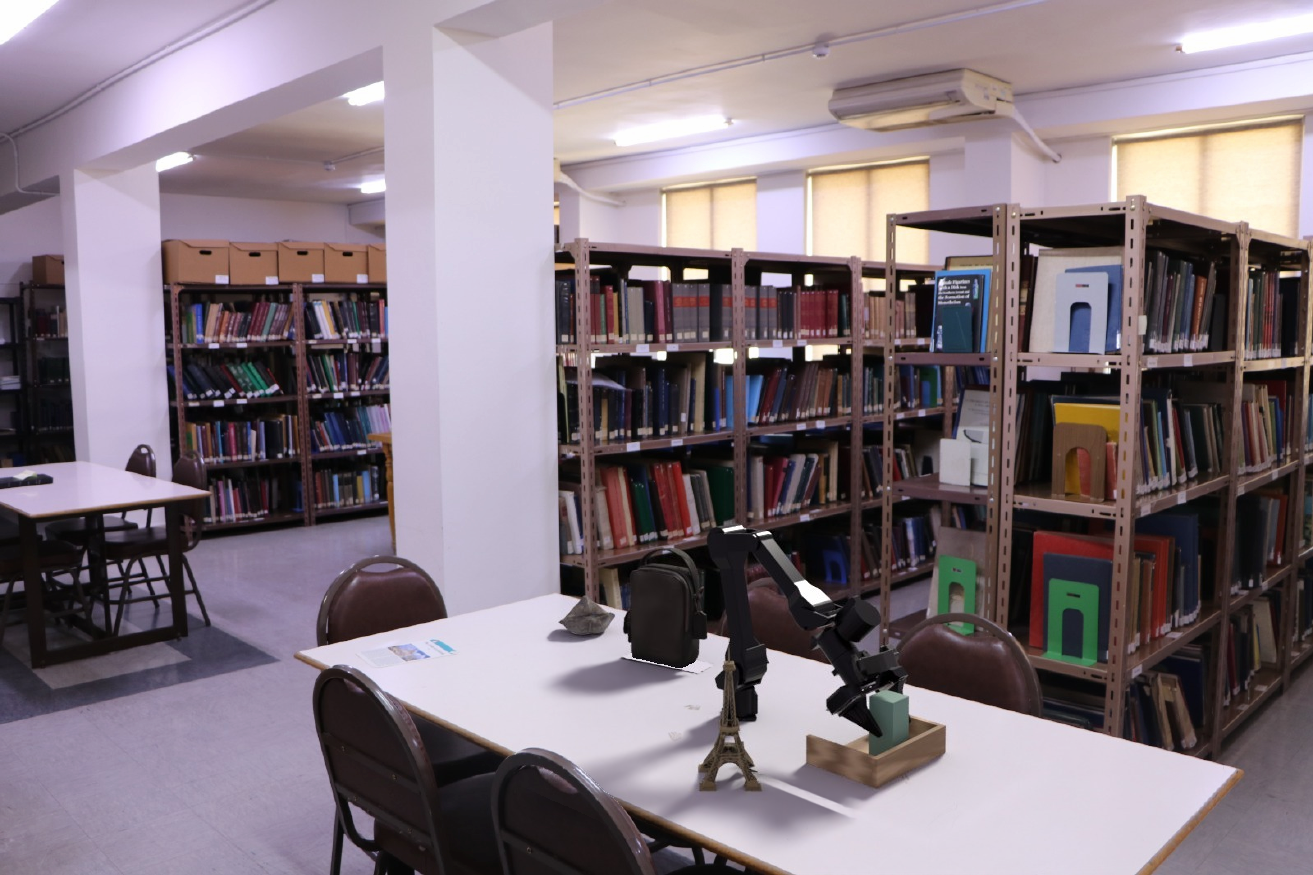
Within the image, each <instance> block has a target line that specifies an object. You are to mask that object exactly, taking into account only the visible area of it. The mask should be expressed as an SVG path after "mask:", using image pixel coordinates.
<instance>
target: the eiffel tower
mask: <svg viewBox="0 0 1313 875" xmlns="http://www.w3.org/2000/svg"><path fill="white" fill-rule="evenodd" d="M722 670H725V671H726V672H725V684H724V697H723V696H722V708H723V710H722V709H721V714H722V715H721V718H719V719H718V730H719V731H718V736H717V739H716V740H713V747H712V749H711V750H710V751H709V753H708V754H707V755H706V757H705V758H704V759H703V762H702V763H701V764H698V772H699V773H706V774H705V776H704V777H703V778H702V781H701V782H699V792H716V791H717V788H716V787H717V786H716V779H717V776H718V773H719V769H720V768H722V766H724V765H726V764H734V765H736V766H737V767H739V769H740V770H741V773H742V775H743V777H744V789H745V792H762V791H763V789H762V784H761V783H760V782H759V781H758V778H757V777H756V776H755V775H754V774H753V773H759V771H757V770H754V769H752V768H750V767H755V766H756V765H755V763H754V760H753V759H752V757H751V755H750V754H749V753H748V751H747V750H746V749H745V742H744V741H742V738H741V737H740V734H739V732H740V731H741V728H740V720H738V718H737V719H736V710H735V697H734V685H733V673H732V671H734V670H736V669H735V665H734V661H730V652H729V650H728V661H725V660H724V661H723V664H722ZM729 696H730V710H731V720H728V704H729ZM726 737H733V740H734V742H731V741H730V742H729V741H727V742H726Z"/></svg>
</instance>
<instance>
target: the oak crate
mask: <svg viewBox="0 0 1313 875" xmlns="http://www.w3.org/2000/svg"><path fill="white" fill-rule="evenodd" d="M909 715H910V719H911V723H909V739H908V741H906V742H904V743H902V744H899V745H897V746H895V747H893V748H891V749H889V750H887V751H885V752H883V753H881V754H879V755H877V756H873V755H870V754H869V733H867V734H865V735H863V736H861V737H859V738H857V739H855V740H853V741H850V742H848V743H846V744H844V745H843V744H840V743H838V742H833V741H831V740H829V739H825V738H823V737H819V736H816V735H814V734H807V735H806V736H805V745H806V746H805V763H806V764H808V765H811V766H813V767H816V768H819V769H822V770H825V771H826V772H830V773H832V774H836V775H838V776H841V777H844V778H846V779H849V780H852V781H855V782H858V783H860V784H863V785H866V786H868V787H871V788H874V789H879V788H881V787H882V786H885V785H886V784H888V783H890V782H892V781H894V780H897V779H898V778H900V777H901V776H903V775H905V774H908V773H909V772H911V771H912V770H915V769H917V768H918V767H920V766H922V765H924V764H927V763H928V762H929V761H932V760H934V759H935V758H937V757H939V756H941V755H943V754H945V753H946V750H947V748H946V746H947V743H946V742H947V725H946V724H943V723H940V722H935V721H932V720H928V719H926V718H921V717H918V716H914V715H911V714H909Z"/></svg>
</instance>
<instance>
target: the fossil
mask: <svg viewBox="0 0 1313 875" xmlns="http://www.w3.org/2000/svg"><path fill="white" fill-rule="evenodd" d="M615 617H616V614H615V613H613V612H611V611H610V612H608V611H607V610H605V609H604V608H602V607H601V606H600V605H599V604H598V603H596V602H595V601H593V600H592V599H591V598H590V597H589V595H583V596H582V597H581V598H580V600H579V601H578V602H577V603H575V605H574V606H573V607H572V608H571V610H570V611H569V612H568V613H567V614H566V615H565V617H564V618H562V619H560V620H559V621H558V623H559V624H560V625H562V626H564V627H565V628H566V629H567V630H568V631H569V632H570V633H572V634H574V633H575V634H574V635H579V634H585V635H589V634H588V633H590V634H592V633H598V634H601V633H603V632H605V631H606V630H607V629H608V628H609V626H610V624H611V623H612V621H613V620H614V619H615ZM600 632H601V633H600Z"/></svg>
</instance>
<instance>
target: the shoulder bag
mask: <svg viewBox="0 0 1313 875" xmlns="http://www.w3.org/2000/svg"><path fill="white" fill-rule="evenodd" d="M659 551H660V552H661V551H667V552H670V553H673V554H674V555H675V554H676V555H677V556H678V557H680V558H681V560H682V561H683V562H684V563H685V565H686V567H683V566H677V565H676V566H675V565H671V564H665V563H664V564H663V563H647V562H648V561H649V559H650V558H651V556H652V555H654V554H656V553H657V552H659ZM700 582H701V581H700V575H699V572H698V569H697V566H696V564H695V561H693V559H692V558H691V556H689V554H687V553H686V552H685V551H684V550H681V549H679V548H678V547H663V546H660V547H657V548H656V547H655V548H653V549H652V550H651V551H649V552H648V553H646V554H645V555H643V556H642V558H641V559H640V561H639V563H638V565H637V568H636V570H635V569H634V570H632V571H631V573H630V574H629V585H630V593H629V594H630V605H628V606H626V611H627V612H626V613H625V615H624V617H623V625H622V626H623V627H622V631H623V634H624V635H627V642H628V643H630V653H632V657H633V658H636V659H642V660H646V661H650V662H654V663H657V664H664V665H668V666H671V667H675V668H683V667H686V666H688V665H689V664H692V663H694V662H695V661H696V660H698V658H699V656H700V641H702V640H703V641H704V640H707V639H708V621H707V620H708V619H707V617H708V616H707V614H706V613H704V612H703V611H702V606H701V599H702V594H703V592H704V588H705V587H704V586H702V587H701V584H700Z"/></svg>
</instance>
